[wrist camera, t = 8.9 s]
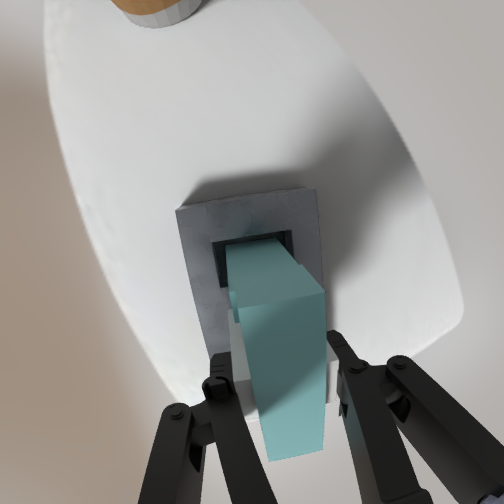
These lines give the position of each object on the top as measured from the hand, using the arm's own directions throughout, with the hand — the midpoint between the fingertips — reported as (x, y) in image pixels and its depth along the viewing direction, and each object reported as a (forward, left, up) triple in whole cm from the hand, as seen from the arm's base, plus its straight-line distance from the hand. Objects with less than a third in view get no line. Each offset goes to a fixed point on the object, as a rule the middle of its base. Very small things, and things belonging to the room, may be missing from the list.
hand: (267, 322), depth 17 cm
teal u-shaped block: (0, 0, -4) cm, 4 cm away
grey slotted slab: (0, 0, -5) cm, 5 cm away
